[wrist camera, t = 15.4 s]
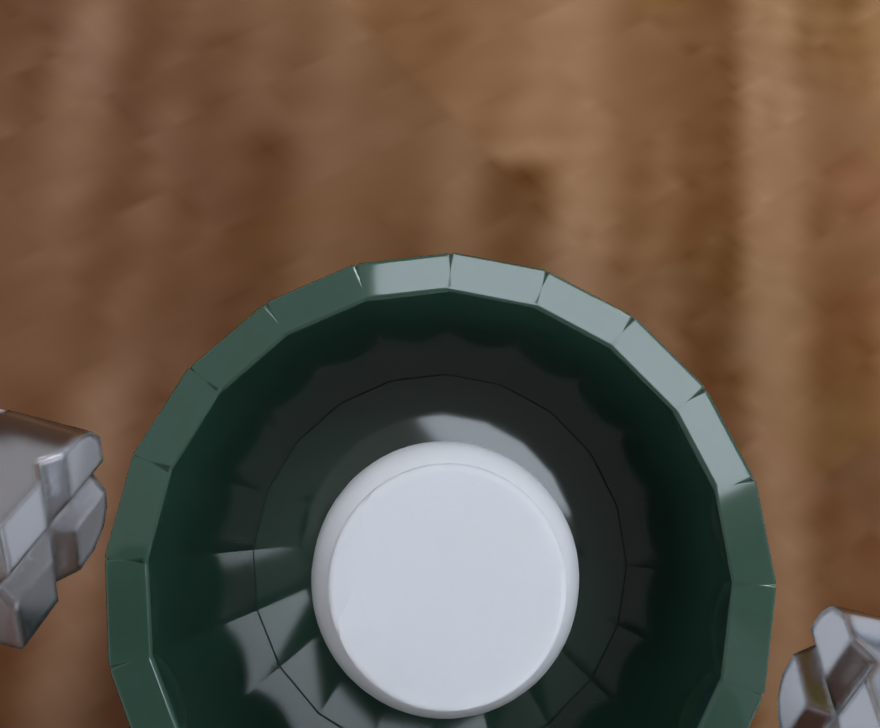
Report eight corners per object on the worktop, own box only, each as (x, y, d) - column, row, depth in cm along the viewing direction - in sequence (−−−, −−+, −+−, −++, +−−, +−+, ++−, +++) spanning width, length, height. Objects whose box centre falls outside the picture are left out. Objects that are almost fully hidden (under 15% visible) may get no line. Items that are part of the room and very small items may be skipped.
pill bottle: (501, 695, 22) (548, 819, 12) (318, 622, 22) (227, 689, 13) (564, 506, 23) (653, 487, 13) (389, 440, 23) (354, 376, 14)
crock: (681, 752, 22) (838, 897, 13) (246, 808, 22) (117, 993, 13) (611, 332, 25) (706, 222, 16) (219, 378, 24) (94, 291, 16)
